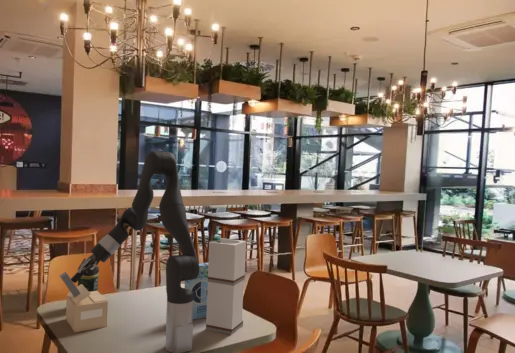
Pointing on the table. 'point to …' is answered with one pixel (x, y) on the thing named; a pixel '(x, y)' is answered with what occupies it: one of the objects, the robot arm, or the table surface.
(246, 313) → the table surface
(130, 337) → the table surface
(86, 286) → the coffee jar
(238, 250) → the white square pillar
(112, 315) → the table surface
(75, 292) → the flap
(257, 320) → the table surface
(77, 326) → the carton
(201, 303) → the gum box
